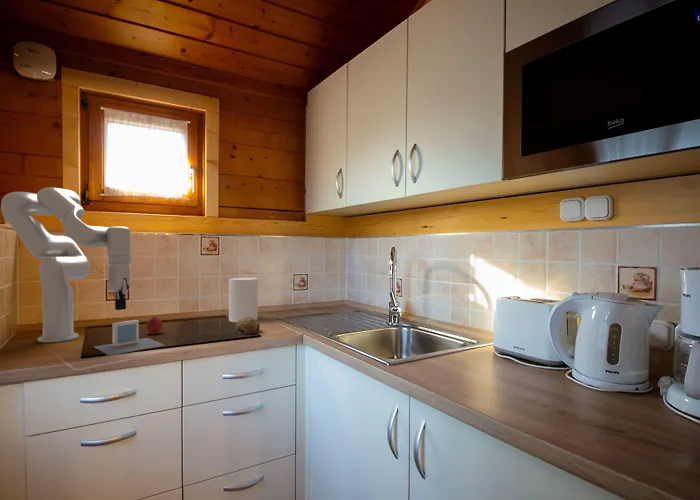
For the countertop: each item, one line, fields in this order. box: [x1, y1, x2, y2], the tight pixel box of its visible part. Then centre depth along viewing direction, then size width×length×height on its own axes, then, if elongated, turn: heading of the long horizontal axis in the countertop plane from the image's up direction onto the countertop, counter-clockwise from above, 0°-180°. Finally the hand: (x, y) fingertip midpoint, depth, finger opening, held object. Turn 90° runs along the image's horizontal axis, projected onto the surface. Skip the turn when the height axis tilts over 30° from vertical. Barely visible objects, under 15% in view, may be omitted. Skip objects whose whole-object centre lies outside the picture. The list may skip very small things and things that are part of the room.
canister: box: [228, 277, 259, 323], centre depth 194 cm, size 14×14×20 cm
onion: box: [146, 314, 164, 335], centre depth 160 cm, size 6×6×8 cm
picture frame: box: [111, 319, 140, 346], centre depth 143 cm, size 2×8×8 cm, turn 138°
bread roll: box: [234, 317, 261, 335], centre depth 167 cm, size 10×10×8 cm
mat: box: [93, 337, 165, 356], centre depth 140 cm, size 16×18×1 cm
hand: (120, 309), depth 147 cm, fingers closed
